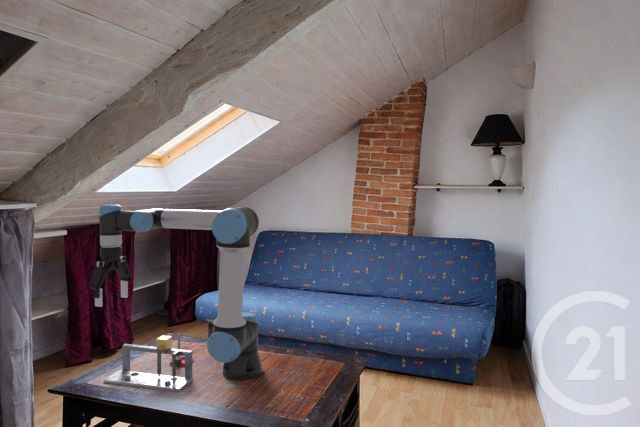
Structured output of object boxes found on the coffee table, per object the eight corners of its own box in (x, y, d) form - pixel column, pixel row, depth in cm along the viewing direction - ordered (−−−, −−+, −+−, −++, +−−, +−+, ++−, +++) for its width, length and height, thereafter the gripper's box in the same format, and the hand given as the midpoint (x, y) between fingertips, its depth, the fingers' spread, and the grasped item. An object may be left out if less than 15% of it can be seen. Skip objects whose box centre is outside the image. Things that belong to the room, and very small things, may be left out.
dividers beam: (192, 377, 175) (192, 350, 174) (185, 383, 170) (185, 355, 169) (125, 370, 180) (125, 343, 179) (117, 375, 175) (117, 348, 175)
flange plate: (191, 381, 172) (191, 376, 172) (179, 391, 163) (179, 386, 163) (119, 372, 178) (119, 367, 178) (103, 382, 169) (103, 377, 169)
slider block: (171, 370, 177) (171, 336, 176) (163, 377, 171) (163, 341, 170) (162, 369, 178) (162, 335, 177) (153, 376, 172) (153, 340, 171)
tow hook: (177, 358, 195) (167, 365, 185) (178, 327, 194) (168, 333, 185) (197, 359, 193) (187, 367, 184) (197, 328, 193) (188, 335, 184)
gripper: (125, 241, 187) (126, 293, 189) (76, 250, 163) (78, 309, 165) (141, 242, 185) (142, 294, 187) (94, 251, 161) (95, 311, 163)
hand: (112, 301), depth 176 cm, fingers open, 13 cm apart
